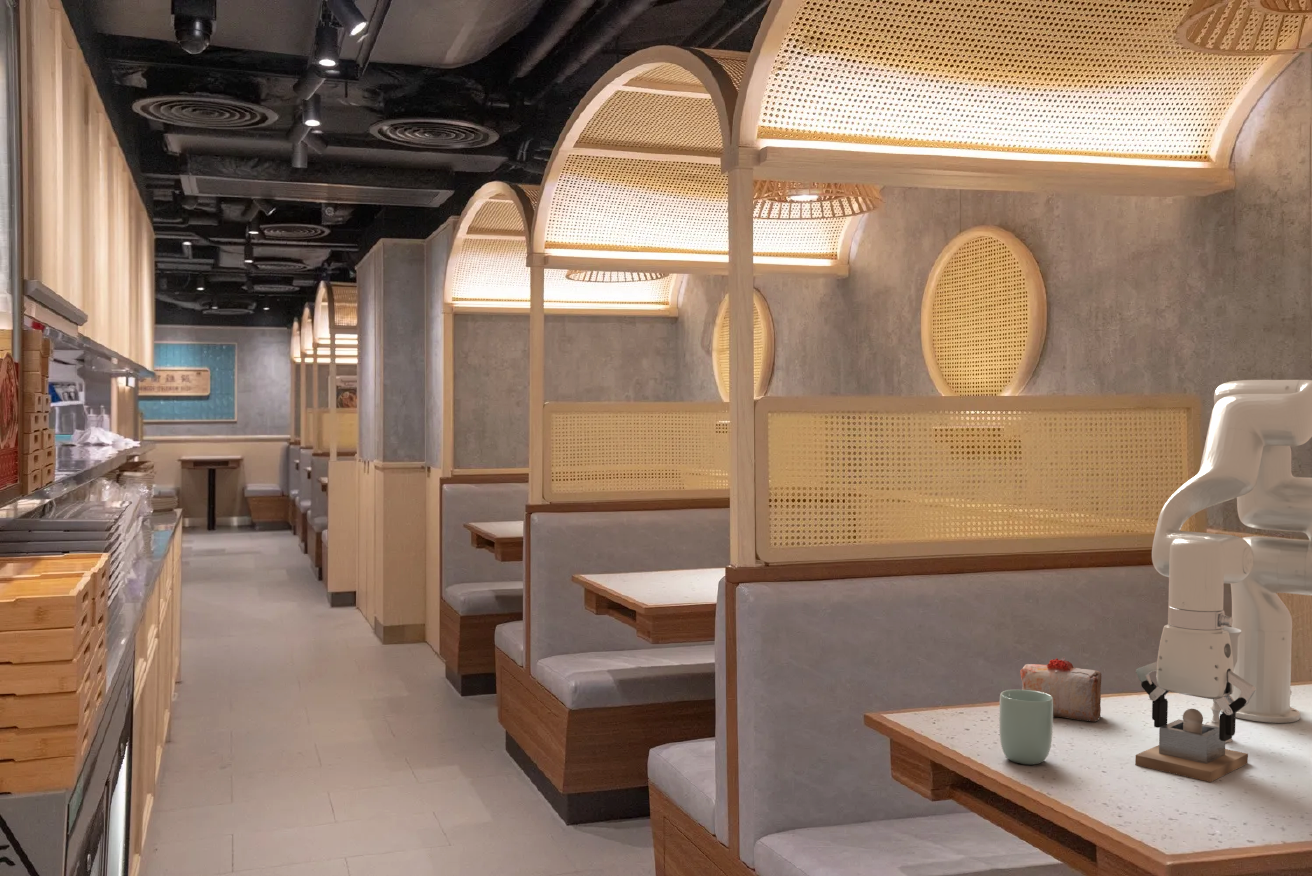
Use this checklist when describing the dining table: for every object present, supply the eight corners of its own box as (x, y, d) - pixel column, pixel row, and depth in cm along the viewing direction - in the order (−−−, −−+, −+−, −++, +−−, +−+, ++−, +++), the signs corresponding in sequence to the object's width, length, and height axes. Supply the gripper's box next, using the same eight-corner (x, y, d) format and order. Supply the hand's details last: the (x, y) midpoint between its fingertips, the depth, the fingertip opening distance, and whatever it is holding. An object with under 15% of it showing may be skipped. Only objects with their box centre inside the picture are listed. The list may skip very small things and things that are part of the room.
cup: (996, 764, 175) (997, 698, 175) (1000, 751, 182) (1002, 687, 182) (1050, 771, 172) (1052, 703, 172) (1053, 757, 179) (1054, 692, 179)
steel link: (1178, 745, 182) (1178, 719, 181) (1225, 755, 176) (1225, 728, 176) (1158, 753, 177) (1159, 727, 177) (1206, 764, 172) (1207, 737, 172)
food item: (1014, 713, 206) (1015, 658, 206) (1025, 704, 213) (1026, 650, 213) (1095, 725, 199) (1097, 667, 199) (1104, 715, 206) (1105, 659, 206)
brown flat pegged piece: (1174, 747, 185) (1176, 695, 185) (1247, 763, 177) (1249, 708, 177) (1135, 764, 176) (1136, 709, 176) (1210, 782, 168) (1211, 724, 168)
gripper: (1265, 625, 172) (1262, 740, 173) (1149, 609, 185) (1146, 717, 185) (1246, 631, 167) (1243, 749, 168) (1127, 614, 180) (1125, 725, 180)
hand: (1192, 732), depth 177 cm, fingers open, 9 cm apart
